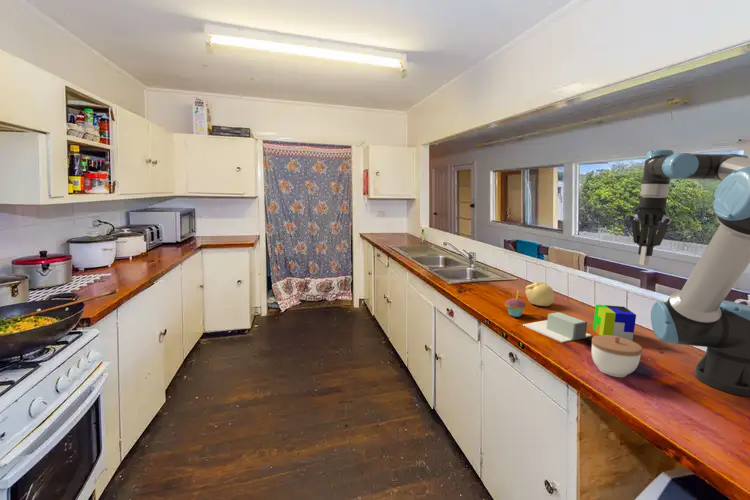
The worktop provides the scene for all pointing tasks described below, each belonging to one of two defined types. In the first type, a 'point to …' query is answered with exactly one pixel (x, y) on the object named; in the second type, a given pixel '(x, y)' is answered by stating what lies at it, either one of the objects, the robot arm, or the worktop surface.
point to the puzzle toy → (614, 321)
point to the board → (548, 331)
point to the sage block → (567, 326)
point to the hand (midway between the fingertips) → (643, 264)
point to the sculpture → (540, 294)
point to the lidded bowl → (615, 355)
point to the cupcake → (515, 306)
